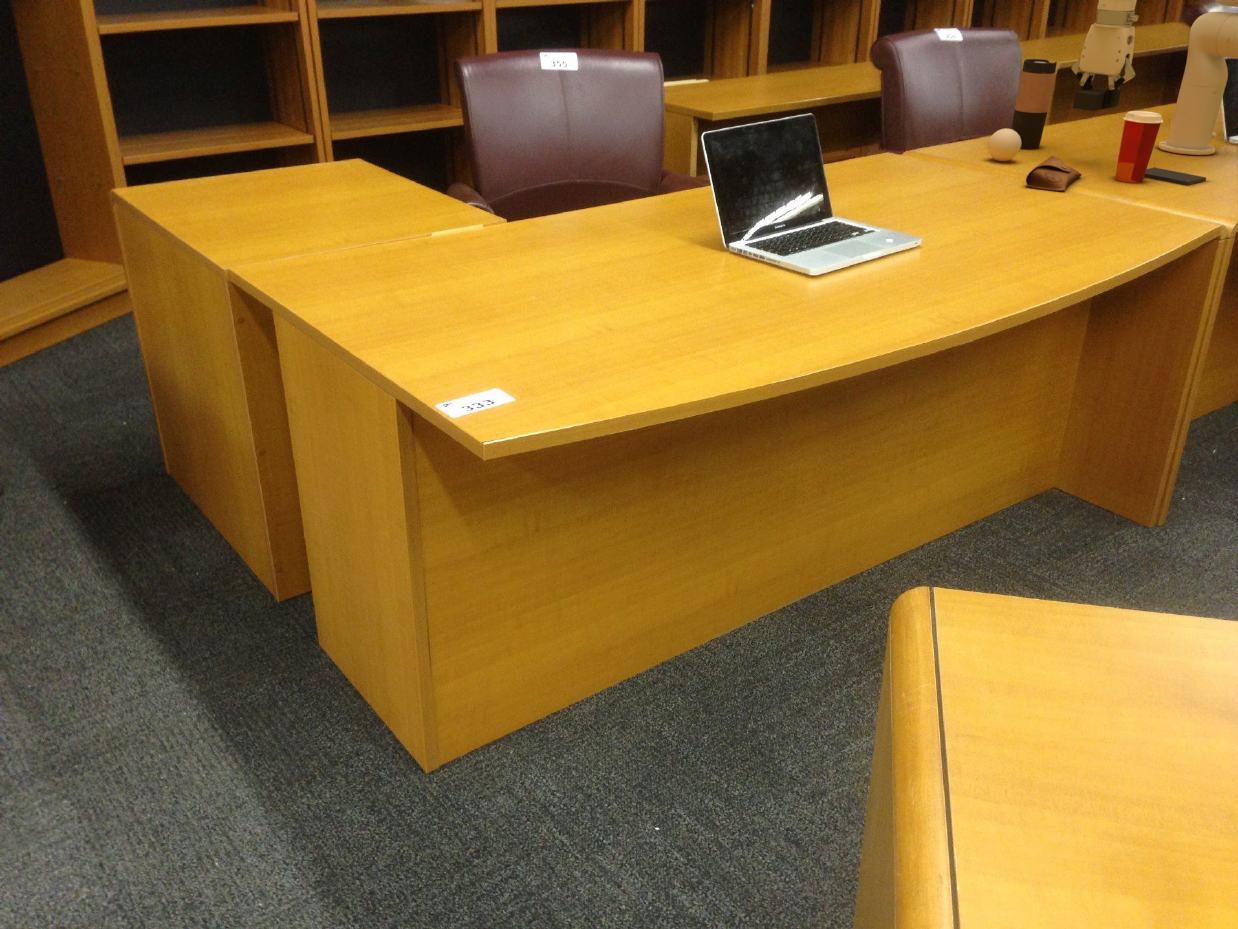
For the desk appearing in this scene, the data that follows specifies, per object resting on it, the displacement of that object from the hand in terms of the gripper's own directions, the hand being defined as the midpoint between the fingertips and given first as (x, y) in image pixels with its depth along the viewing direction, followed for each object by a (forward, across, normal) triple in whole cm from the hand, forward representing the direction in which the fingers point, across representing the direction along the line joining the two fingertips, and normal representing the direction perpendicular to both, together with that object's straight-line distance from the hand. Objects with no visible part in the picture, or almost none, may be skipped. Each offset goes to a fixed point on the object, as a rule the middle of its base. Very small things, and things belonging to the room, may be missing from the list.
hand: (1095, 104), depth 237 cm
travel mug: (+13, +20, -6) cm, 25 cm away
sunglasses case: (+13, -7, +23) cm, 27 cm away
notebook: (+13, -19, -3) cm, 23 cm away
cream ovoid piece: (+13, +13, +13) cm, 22 cm away
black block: (0, 0, 0) cm, 0 cm away
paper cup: (+13, -15, +7) cm, 21 cm away
